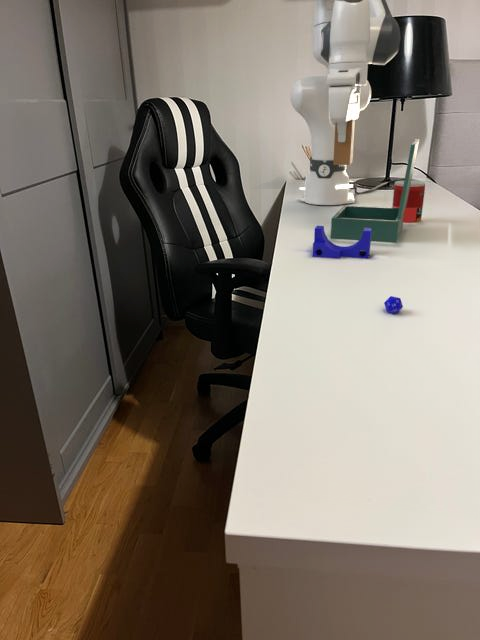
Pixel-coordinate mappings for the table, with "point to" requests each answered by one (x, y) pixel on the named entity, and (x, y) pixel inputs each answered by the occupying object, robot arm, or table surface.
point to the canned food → (410, 200)
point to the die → (393, 304)
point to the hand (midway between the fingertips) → (343, 141)
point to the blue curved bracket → (338, 251)
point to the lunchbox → (367, 223)
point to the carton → (344, 146)
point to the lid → (408, 178)
